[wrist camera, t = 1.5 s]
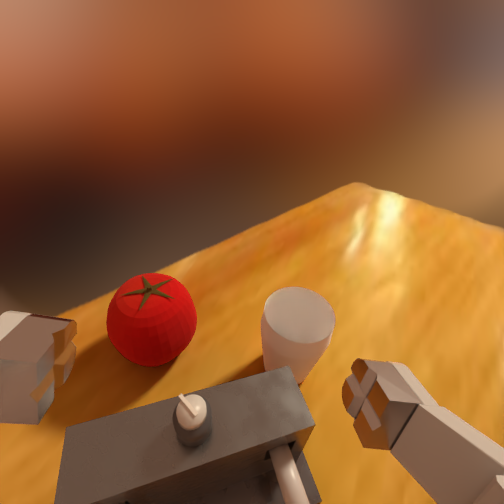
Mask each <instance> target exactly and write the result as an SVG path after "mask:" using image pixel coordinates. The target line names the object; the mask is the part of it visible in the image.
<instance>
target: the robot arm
mask: <svg viewBox="0 0 504 504" xmlns="http://www.w3.org/2000/svg"><path fill="white" fill-rule="evenodd" d="M76 334H77V323H76V322H75V321H74V320H71V319H64V318H58V317H51V316H44V315H38V314H30V313H24V312H16V311H8V312H5V313H3V314H2V315H1V316H0V423H13V424H36V425H38V424H39V422H40V421H41V419H42V417H43V416H44V414H45V413H46V411H47V410H48V408H49V407H50V405H51V403H52V402H53V400H54V390H55V389H57V388H58V387H60V386H62V385H63V384H64V383H65V381H66V380H67V378H68V376H69V374H70V372H71V369H72V367H73V364H74V361H75V356H76V346H75V345H74V344H73V342H72V339H73V338H74V336H75V335H76ZM351 370H352V373H353V374H352V375H350V376H349V377H348V378H346V379H345V382H344V384H343V387H342V399H343V404H344V406H345V408H346V411H347V412H348V413H349V414H350V415H351V416H352V417H353V418H354V424H353V426H354V428H355V430H356V433H357V435H358V437H359V439H360V441H361V443H362V446H363V448H372V449H381V450H391V451H390V452H391V453H392V455H393V456H394V457H395V458H396V459H397V460H398V461H399V462H400V463H401V464H402V465H403V467H404V468H405V469H406V470H407V471H408V472H409V473H410V474H411V475H412V476H413V477H414V479H415V480H416V481H417V482H418V483H419V484H420V485H421V486H422V487H423V488H424V489H425V491H426V492H427V493H428V494H429V495H430V496H431V497H432V498H433V499H434V500H435V501H436V502H437V504H504V448H502V447H501V446H500V445H498V444H497V443H495V442H494V441H492V440H491V439H489V438H488V437H487V436H485V435H484V434H482V433H481V432H479V431H478V430H476V429H475V428H474V427H472V426H471V425H469V424H468V423H466V422H465V421H464V420H462V419H461V418H459V417H458V416H456V415H455V414H453V413H452V412H451V411H449V410H448V409H446V408H445V407H440V406H439V405H438V404H437V403H436V401H435V400H434V399H433V398H432V397H431V395H430V394H429V393H428V392H427V390H426V389H425V388H424V387H423V386H422V384H421V383H420V382H419V381H418V379H417V378H416V377H415V376H414V374H413V373H412V372H411V371H410V370H409V368H408V367H407V366H406V365H404V364H402V363H397V362H384V361H376V360H368V359H360V358H358V359H356V360H355V361H354V362H353V365H352V367H351Z"/></svg>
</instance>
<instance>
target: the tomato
mask: <svg viewBox="0 0 504 504" xmlns="http://www.w3.org/2000/svg"><path fill="white" fill-rule="evenodd" d="M106 323H107V332H108V336H109V338H110V340H111V342H112V344H113V345H114V347H115V348H116V349H117V350H118V351H119V352H120V353H121V354H122V355H123V356H124V357H125V358H127V359H128V360H130V361H131V362H134V363H136V364H139V365H141V366H148V367H153V366H159V365H162V364H165V363H167V362H169V361H171V360H172V359H174V358H175V357H176V356H178V355H179V354H180V353H181V352H182V351H183V350H184V349H185V348H186V347H187V345H188V344H189V342H190V341H191V339H192V337H193V335H194V333H195V330H196V323H197V315H196V310H195V307H194V304H193V301H192V299H191V296H190V294H189V293H188V291H187V290H186V288H185V287H184V286H183V285H182V284H181V283H180V282H179V281H177V280H176V279H175V278H173V277H171V276H168V275H164V274H158V273H148V274H142V275H138V276H135V277H133V278H131V279H129V280H128V281H126V282H125V283H124V284H123V285H122V286H121V287H120V288H119V289H118V290H117V292H116V293H115V295H114V297H113V298H112V300H111V302H110V304H109V308H108V313H107V322H106Z"/></svg>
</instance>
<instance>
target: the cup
mask: <svg viewBox="0 0 504 504" xmlns="http://www.w3.org/2000/svg"><path fill="white" fill-rule="evenodd" d="M334 326H335V314H334V311H333V309H332V307H331V306H330V304H329V303H328V302H327V301H326V300H325V299H324V298H323V297H322V296H320V295H319V294H317V293H316V292H314V291H311V290H309V289H306V288H301V287H286V288H282V289H279V290H277V291H275V292H274V293H272V294H271V295H270V296H269V297H268V299H267V301H266V303H265V307H264V312H263V315H262V319H261V337H262V348H263V360H264V368H265V371H266V372H267V371H271V370H274V369H278V368H282V367H285V366H290V369H291V371H292V373H293V375H294V378H295V380H296V382H297V384H299V383H301V382H302V381H303V380H304V379H305V378H306V376H307V375H308V374H309V372H310V371H311V370H312V368H313V367H314V365H315V364H316V363H317V361H318V360H319V358H320V357H321V356H322V354H323V353H324V352H325V350H326V349H327V347H328V345H329V343H330V340H331V336H332V332H333V329H334Z"/></svg>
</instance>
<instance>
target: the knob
mask: <svg viewBox="0 0 504 504" xmlns="http://www.w3.org/2000/svg"><path fill="white" fill-rule="evenodd" d="M269 454H270V457H271V460H272V463H273V466H274V470H275V473H276V476H277V479H278V482H279V486H280V489H281V492H282V495H283V499H284V502H285V504H310V503H309V501H308V498H307V495H306V492H305V489H304V487H303V484H302V481H301V478H300V476H299V473H298V470H297V467H296V464H295V462H294V459H293V456H292V453H291V451H290V448H289V445H288V443H287V444H284V445H281V446H278V447H276V448H273V449H270V450H269Z"/></svg>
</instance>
